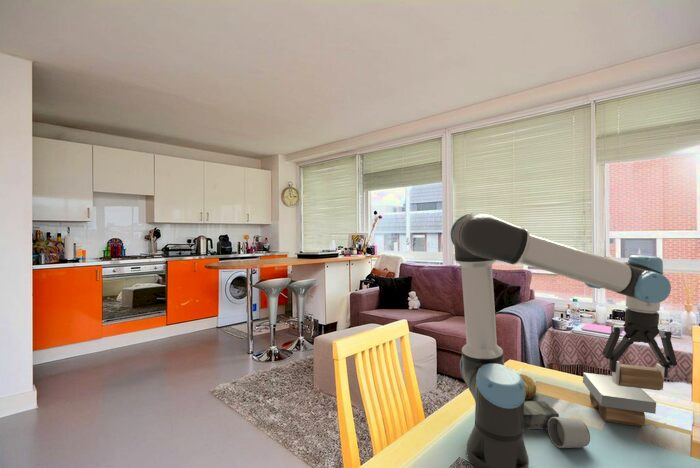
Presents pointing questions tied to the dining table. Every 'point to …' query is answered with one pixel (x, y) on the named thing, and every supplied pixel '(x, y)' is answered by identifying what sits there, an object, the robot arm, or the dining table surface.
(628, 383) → the loose roller
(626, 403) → the slab
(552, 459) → the dining table surface
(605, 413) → the front roller
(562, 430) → the ceramic mug
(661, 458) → the dining table surface
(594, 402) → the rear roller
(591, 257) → the robot arm
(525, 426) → the stone block
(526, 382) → the bread roll
